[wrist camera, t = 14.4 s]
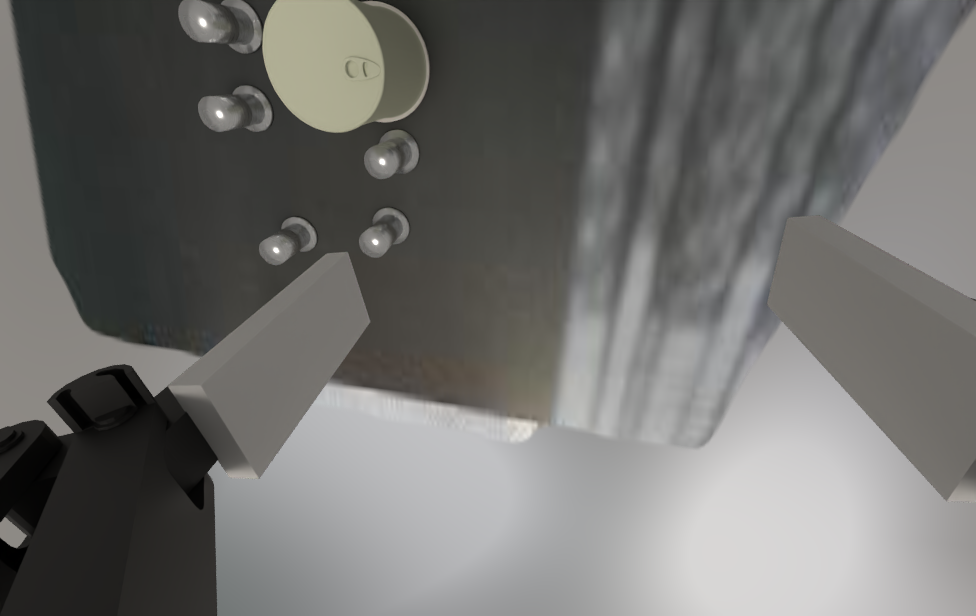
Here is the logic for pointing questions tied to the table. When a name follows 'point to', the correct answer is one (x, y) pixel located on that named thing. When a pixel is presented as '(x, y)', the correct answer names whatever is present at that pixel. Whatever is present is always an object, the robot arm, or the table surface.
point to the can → (342, 62)
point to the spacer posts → (255, 113)
